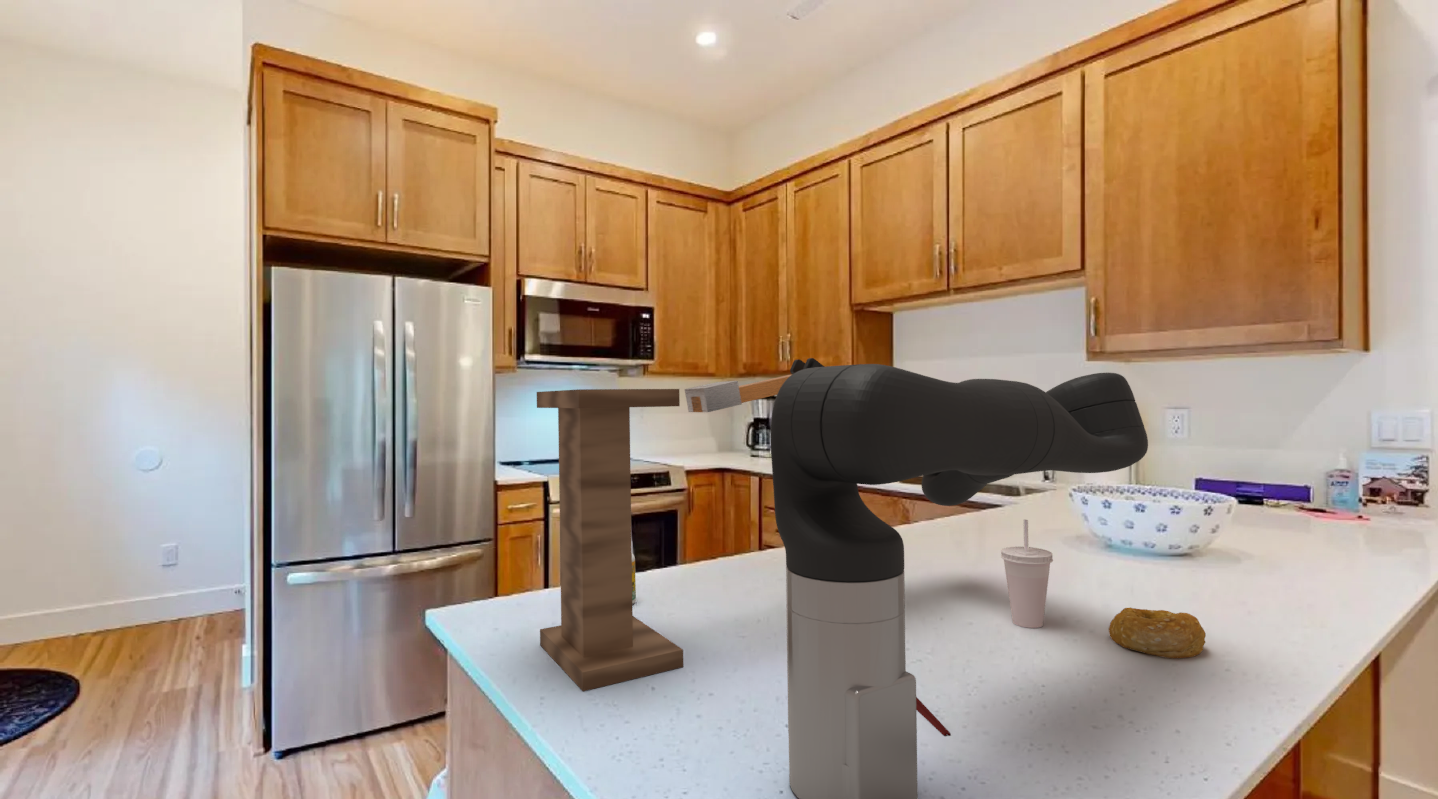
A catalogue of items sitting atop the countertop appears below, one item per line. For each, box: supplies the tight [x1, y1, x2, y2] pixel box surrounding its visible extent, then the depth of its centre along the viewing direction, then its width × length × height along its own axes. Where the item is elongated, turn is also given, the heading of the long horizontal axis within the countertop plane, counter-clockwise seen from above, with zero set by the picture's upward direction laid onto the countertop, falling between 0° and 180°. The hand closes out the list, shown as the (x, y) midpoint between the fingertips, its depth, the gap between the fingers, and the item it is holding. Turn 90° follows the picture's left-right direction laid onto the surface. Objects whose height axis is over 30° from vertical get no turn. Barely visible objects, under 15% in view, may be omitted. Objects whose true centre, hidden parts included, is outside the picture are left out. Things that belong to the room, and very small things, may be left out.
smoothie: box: [1000, 519, 1054, 629], centre depth 91 cm, size 6×6×14 cm
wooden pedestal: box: [536, 388, 684, 692], centre depth 81 cm, size 16×12×32 cm
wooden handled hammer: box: [684, 373, 793, 413], centre depth 90 cm, size 5×22×3 cm, turn 121°
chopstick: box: [916, 696, 952, 737], centre depth 73 cm, size 2×24×1 cm, turn 10°
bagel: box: [1108, 607, 1206, 659], centre depth 83 cm, size 10×11×5 cm
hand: (800, 364), depth 93 cm, fingers closed on wooden handled hammer, 2 cm apart
